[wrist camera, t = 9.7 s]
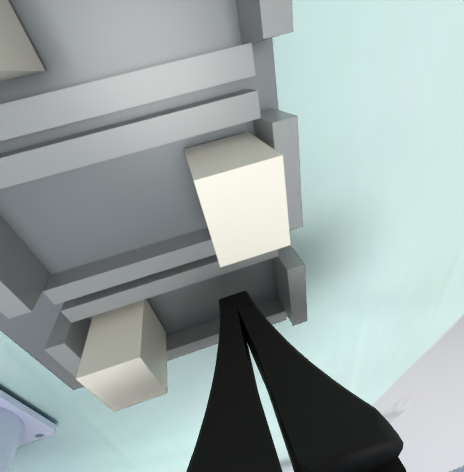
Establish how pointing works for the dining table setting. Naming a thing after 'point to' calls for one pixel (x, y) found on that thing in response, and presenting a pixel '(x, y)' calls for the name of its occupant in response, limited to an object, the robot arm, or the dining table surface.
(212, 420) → the robot arm
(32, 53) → the tab
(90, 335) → the tab
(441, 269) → the dining table surface
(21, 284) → the switch bank
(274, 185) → the tab
